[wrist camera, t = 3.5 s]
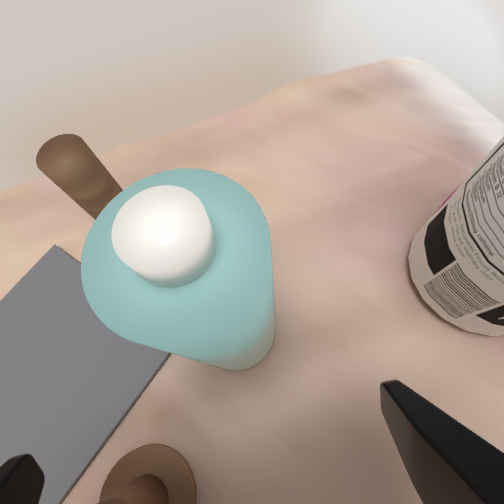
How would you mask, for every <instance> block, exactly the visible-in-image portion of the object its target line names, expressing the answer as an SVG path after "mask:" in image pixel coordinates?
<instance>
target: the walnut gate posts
mask: <svg viewBox="0 0 504 504" xmlns="http://www.w3.org/2000/svg"><path fill="white" fill-rule="evenodd" d="M36 163H37V166H38V168H39V169H40V170H41V171H42V172H43V173H44V174H45V175H46V176H47V177H49V178H50V179H51V180H52V181H53V182H54V183H55V184H56V185H57V186H59V187H60V188H61V189H62V190H63V191H64V192H65V193H66V194H67V195H68V196H70V197H71V198H72V199H73V200H74V201H75V202H76V203H77V204H78V205H80V206H81V207H82V208H83V209H84V210H85V211H86V212H87V213H88V214H89V215H91V216H92V217H93V218H94V219H95V220H96V219H97V217H98V216H99V214H100V213H101V211H102V210H103V209H104V208H105V207H106V206H107V204H108V203H109V202H110V201H111V200H112V199H113V198H115V197H116V196H117V195H118V194H119V193H120V192H122V191H123V190H122V188H121V187H120V186H119V184H118V183H117V182H116V181H115V179H114V178H113V177H112V176H111V174H110V173H109V172H108V171H107V169H106V168H105V167H104V166H103V164H102V163H101V162H100V161H99V159H98V158H97V157H96V156H95V154H94V153H93V152H92V151H91V149H90V148H89V147H88V146H87V144H86V143H85V142H84V141H83V139H82V138H81V137H79V136H77V135H74V134H63V135H59V136H56V137H54V138H52V139H50V140H49V141H47V142H46V143H45V144H44V145H43V146H42V147H41V148H40V150H39V152H38V154H37V157H36ZM195 503H196V488H195V481H194V477H193V474H192V472H191V469H190V467H189V465H188V463H187V462H186V461H185V459H184V458H183V457H182V456H181V455H180V454H179V453H178V452H177V451H175V450H174V449H172V448H170V447H167V446H165V445H160V444H151V445H145V446H142V447H140V448H137V449H135V450H133V451H131V452H129V453H128V454H126V455H125V456H124V457H122V458H121V459H120V460H119V461H118V462H117V463H116V464H115V466H114V467H113V468H112V470H111V471H110V473H109V474H108V476H107V478H106V480H105V483H104V485H103V488H102V491H101V495H100V501H99V503H98V504H195Z"/></svg>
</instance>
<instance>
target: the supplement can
mask: <svg viewBox="0 0 504 504" xmlns="http://www.w3.org/2000/svg"><path fill="white" fill-rule="evenodd" d="M408 259H409V265H410V272H411V278H412V280H413V282H414V284H415V286H416V288H417V289H418V291H419V293H420V295H421V297H422V299H423V300H424V301H425V302H426V303H427V304H428V305H429V306H430V307H431V308H432V309H433V310H434V311H435V312H436V313H437V314H438V315H439V316H441V317H442V318H443V319H445V320H447V321H449V322H450V323H452V324H454V325H456V326H458V327H460V328H462V329H464V330H466V331H468V332H473V333H478V334H484V335H489V336H501V335H504V137H503V138H502V139H501V140H500V141H499V143H498V144H497V145H496V146H495V147H494V148H493V149H492V150H491V151H490V152H489V154H488V155H487V156H486V157H485V158H484V159H483V160H482V161H481V162H480V163H479V165H478V166H477V167H476V168H475V169H474V170H473V171H472V172H471V173H470V174H469V176H468V177H467V178H466V179H465V180H464V181H463V182H462V183H461V184H460V185H459V187H458V188H457V189H456V190H455V191H454V192H453V193H452V194H451V195H450V196H449V198H448V199H447V200H446V201H445V202H444V203H443V204H442V205H441V206H440V207H439V209H438V210H437V211H436V212H435V213H434V214H433V215H432V216H431V217H430V218H429V220H428V221H427V222H426V223H425V224H424V225H423V226H422V228H421V229H420V230H419V231H418V233H417V234H416V235H415V236H414V238H413V240H412V244H411V248H410V252H409V256H408Z"/></svg>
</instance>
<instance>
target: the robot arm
mask: <svg viewBox="0 0 504 504" xmlns="http://www.w3.org/2000/svg"><path fill="white" fill-rule="evenodd" d="M380 396H381V409H382V413H383V416H384V418H385V420H386V423H387V425H388V427H389V430H390V432H391V434H392V437H393V439H394V442H395V444H396V446H397V449H398V451H399V453H400V456H401V458H402V460H403V463H404V465H405V467H406V470H407V472H408V474H409V477H410V479H411V481H412V483H413V485H414V487H415V489H416V491H417V493H418V494H419V496H420V498H421V500H422V502H423V504H504V453H503V452H501V451H500V450H498V449H497V448H495V447H494V446H493V445H491V444H490V443H488V442H487V441H485V440H484V439H482V438H481V437H480V436H478V435H477V434H475V433H474V432H472V431H471V430H469V429H468V428H467V427H465V426H464V425H462V424H461V423H459V422H458V421H456V420H455V419H454V418H452V417H451V416H449V415H448V414H446V413H445V412H443V411H442V410H441V409H439V408H438V407H436V406H435V405H433V404H432V403H430V402H429V401H428V400H426V399H425V398H423V397H422V396H420V395H419V394H417V393H416V392H414V391H413V390H412V389H410V388H409V387H407V386H406V385H404V384H403V383H401V382H400V381H398V380H390V381H385V382H382V383H381V385H380ZM44 483H45V475H44V472H43V471H42V469H41V468H40V466H39V465H38V463H37V462H36V460H35V459H34V457H33V456H32V455H31V454H22V455H17V456H13V457H11V458H10V459H8V460H7V461H6V462H5V463H4V464H3V465H2V466H0V504H39V501H40V497H41V494H42V490H43V487H44Z"/></svg>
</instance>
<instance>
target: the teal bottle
mask: <svg viewBox="0 0 504 504" xmlns="http://www.w3.org/2000/svg"><path fill="white" fill-rule="evenodd" d="M81 279H82V285H83V290H84V293H85V295H86V298H87V301H88V303H89V305H90V306H91V308H92V310H93V312H94V313H95V314H96V316H97V317H98V318H99V319H100V321H102V322H103V323H104V324H105V325H106V326H107V327H108V328H109V329H110V330H112V331H113V332H115V333H116V334H118V335H119V336H121V337H123V338H125V339H128V340H130V341H132V342H136V343H139V344H142V345H146V346H149V347H152V348H156V349H159V350H162V351H166V352H169V353H172V354H176V355H179V356H182V357H186V358H189V359H192V360H195V361H199V362H202V363H205V364H209V365H212V366H215V367H219V368H222V369H225V370H231V371H239V370H245V369H248V368H250V367H253V366H254V365H256V364H258V363H259V362H260V361H261V360H262V359H263V358H264V357H265V356H266V355H267V354H268V352H269V350H270V349H271V347H272V344H273V341H274V337H275V314H274V294H273V273H272V252H271V237H270V231H269V226H268V223H267V220H266V217H265V215H264V213H263V211H262V209H261V207H260V206H259V204H258V203H257V201H256V200H255V199H254V197H253V196H252V195H251V194H250V193H249V192H248V191H247V190H246V189H245V188H243V187H242V186H241V185H240V184H238V183H237V182H235V181H233V180H232V179H230V178H228V177H226V176H223V175H221V174H218V173H215V172H212V171H207V170H202V169H175V170H168V171H164V172H160V173H156V174H153V175H151V176H148V177H145V178H143V179H141V180H139V181H137V182H135V183H134V184H132V185H130V186H129V187H127V188H126V189H124V190H123V191H122V192H120V193H119V194H118V195H117V196H116V197H115V198H113V199H112V200H111V201H110V202H109V203H108V204H107V206H106V207H105V208H104V209H103V210H102V211H101V213H100V214H99V216H98V217H97V219H96V220H95V222H94V223H93V225H92V227H91V229H90V231H89V233H88V236H87V238H86V241H85V244H84V248H83V252H82V259H81Z"/></svg>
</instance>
